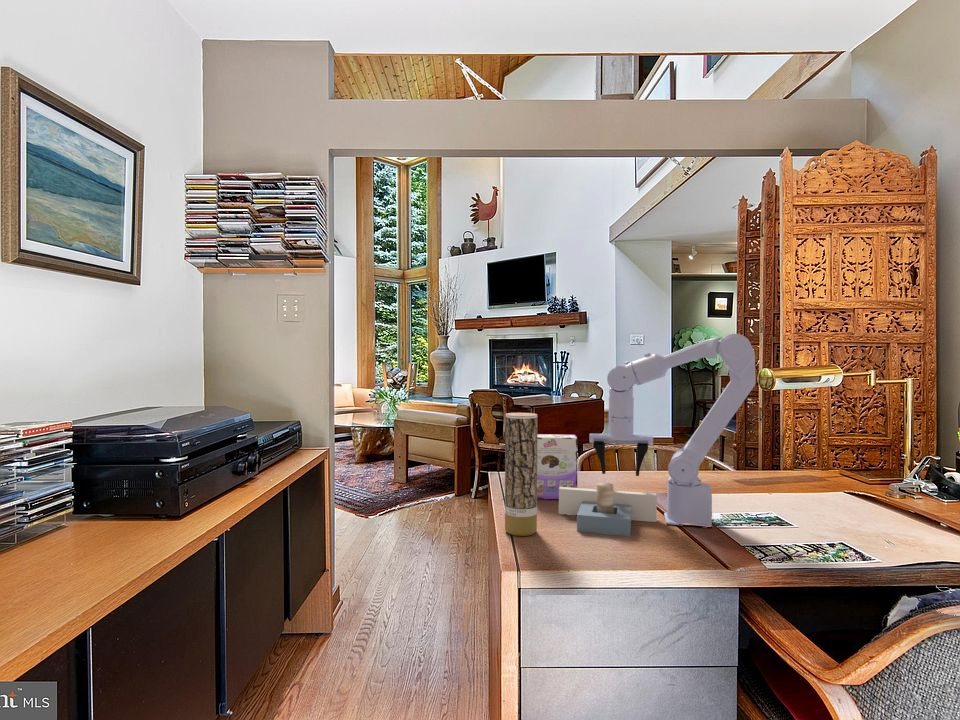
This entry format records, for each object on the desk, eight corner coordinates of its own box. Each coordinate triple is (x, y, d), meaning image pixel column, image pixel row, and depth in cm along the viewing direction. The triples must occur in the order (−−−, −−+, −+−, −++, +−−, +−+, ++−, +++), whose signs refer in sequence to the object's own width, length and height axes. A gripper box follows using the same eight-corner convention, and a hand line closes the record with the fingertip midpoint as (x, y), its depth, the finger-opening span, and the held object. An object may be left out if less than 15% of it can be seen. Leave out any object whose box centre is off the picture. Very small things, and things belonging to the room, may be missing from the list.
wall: (656, 519, 124) (656, 493, 124) (656, 522, 122) (656, 495, 122) (559, 511, 130) (559, 486, 130) (558, 514, 128) (558, 488, 128)
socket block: (631, 522, 123) (631, 505, 123) (630, 538, 113) (630, 519, 113) (582, 518, 126) (582, 501, 126) (576, 533, 116) (577, 514, 116)
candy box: (575, 495, 145) (576, 433, 145) (577, 501, 139) (578, 437, 139) (524, 493, 147) (524, 432, 146) (523, 499, 141) (524, 436, 141)
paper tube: (535, 538, 111) (535, 416, 111) (502, 536, 112) (503, 415, 112) (538, 528, 118) (539, 413, 117) (507, 525, 119) (507, 412, 119)
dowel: (617, 521, 119) (616, 485, 119) (606, 524, 117) (605, 487, 117) (604, 517, 122) (604, 482, 122) (593, 520, 120) (593, 484, 120)
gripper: (652, 416, 130) (651, 472, 131) (590, 414, 134) (590, 468, 134) (653, 419, 124) (653, 478, 124) (588, 417, 127) (588, 474, 128)
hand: (620, 474), depth 129 cm, fingers open, 7 cm apart
